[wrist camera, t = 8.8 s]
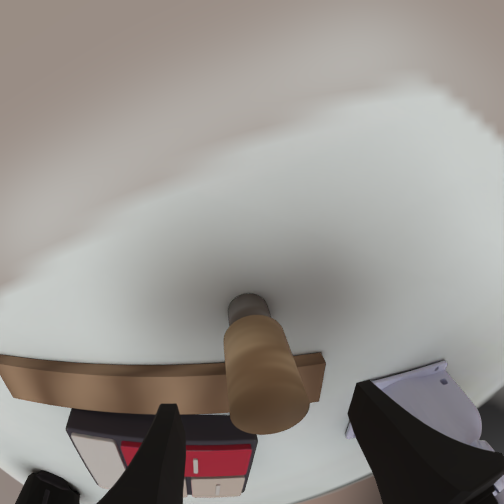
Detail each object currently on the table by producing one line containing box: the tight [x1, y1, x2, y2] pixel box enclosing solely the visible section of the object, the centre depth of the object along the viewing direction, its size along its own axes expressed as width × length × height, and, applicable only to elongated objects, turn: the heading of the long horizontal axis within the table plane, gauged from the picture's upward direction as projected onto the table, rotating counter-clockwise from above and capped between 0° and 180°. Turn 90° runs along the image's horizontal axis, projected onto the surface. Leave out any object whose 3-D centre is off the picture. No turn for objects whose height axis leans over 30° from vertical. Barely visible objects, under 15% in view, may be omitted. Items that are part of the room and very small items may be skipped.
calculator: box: [66, 408, 258, 498], centre depth 21 cm, size 11×4×15 cm
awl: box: [224, 294, 310, 435], centre depth 15 cm, size 3×3×8 cm
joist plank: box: [0, 352, 326, 414], centre depth 19 cm, size 26×4×1 cm, turn 91°
